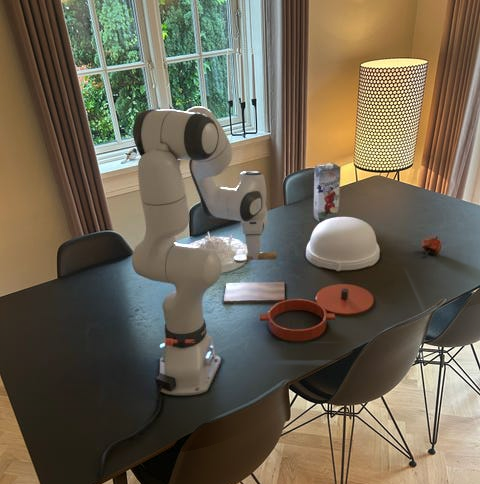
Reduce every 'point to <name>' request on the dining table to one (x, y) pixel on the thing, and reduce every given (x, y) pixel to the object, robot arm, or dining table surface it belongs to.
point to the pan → (297, 305)
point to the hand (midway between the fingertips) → (255, 256)
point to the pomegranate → (431, 246)
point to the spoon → (244, 258)
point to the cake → (224, 250)
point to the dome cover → (343, 244)
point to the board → (254, 292)
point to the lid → (345, 299)
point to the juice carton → (326, 191)
